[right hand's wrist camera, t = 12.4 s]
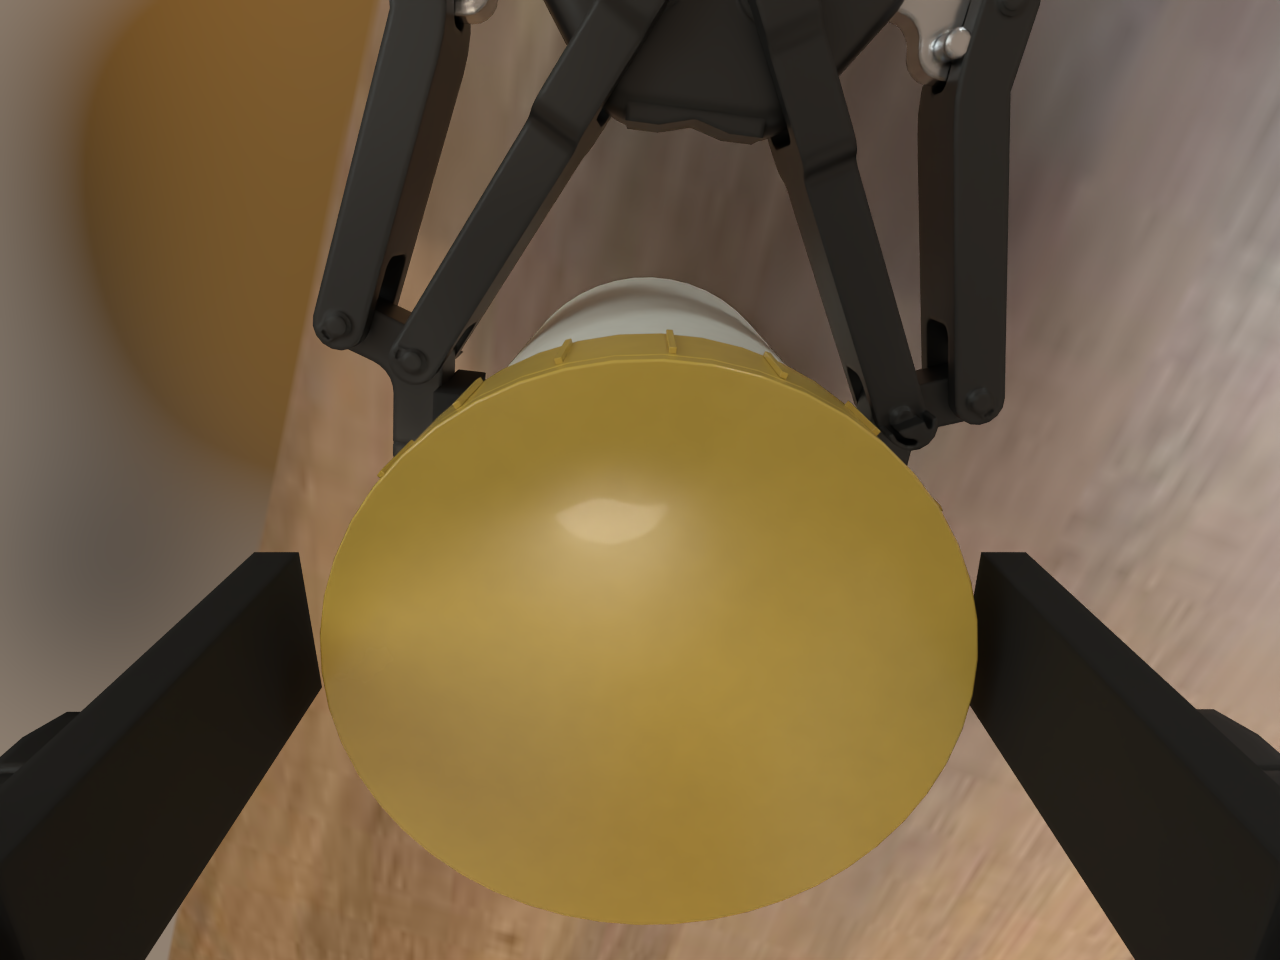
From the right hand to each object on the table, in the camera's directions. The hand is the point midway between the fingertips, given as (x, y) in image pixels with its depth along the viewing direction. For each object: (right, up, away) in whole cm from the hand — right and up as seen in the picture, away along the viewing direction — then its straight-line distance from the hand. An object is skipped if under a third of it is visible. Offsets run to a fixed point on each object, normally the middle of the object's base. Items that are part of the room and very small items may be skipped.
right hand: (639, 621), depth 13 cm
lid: (0, -1, -1) cm, 1 cm away
